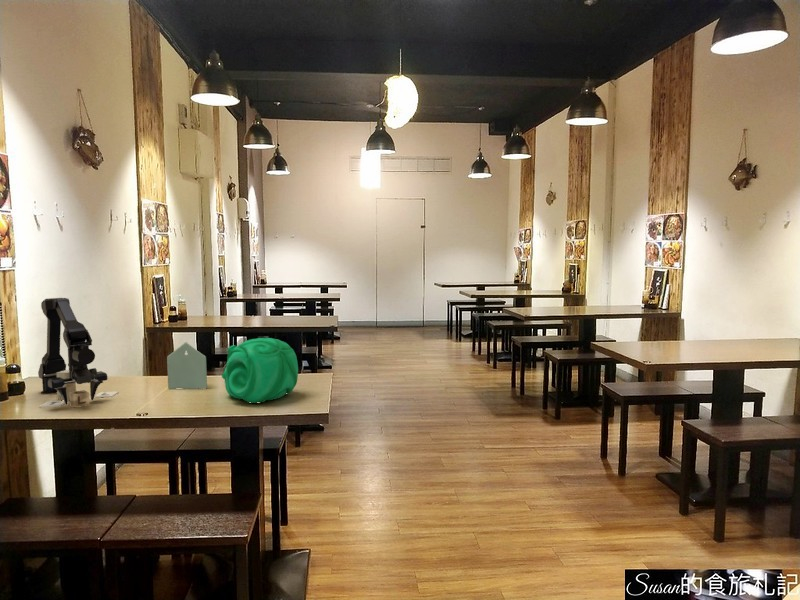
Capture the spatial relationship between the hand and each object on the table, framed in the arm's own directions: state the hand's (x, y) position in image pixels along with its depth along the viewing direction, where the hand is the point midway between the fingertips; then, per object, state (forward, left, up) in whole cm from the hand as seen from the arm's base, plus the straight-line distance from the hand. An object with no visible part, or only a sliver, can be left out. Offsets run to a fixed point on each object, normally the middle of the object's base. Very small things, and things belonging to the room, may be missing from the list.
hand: (79, 402), depth 212 cm
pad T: (-10, +2, -1) cm, 10 cm away
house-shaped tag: (+34, +25, -1) cm, 42 cm away
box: (-9, +10, -1) cm, 13 cm away
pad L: (+4, +14, -1) cm, 15 cm away
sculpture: (+65, +4, -1) cm, 65 cm away
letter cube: (0, 0, -1) cm, 1 cm away
